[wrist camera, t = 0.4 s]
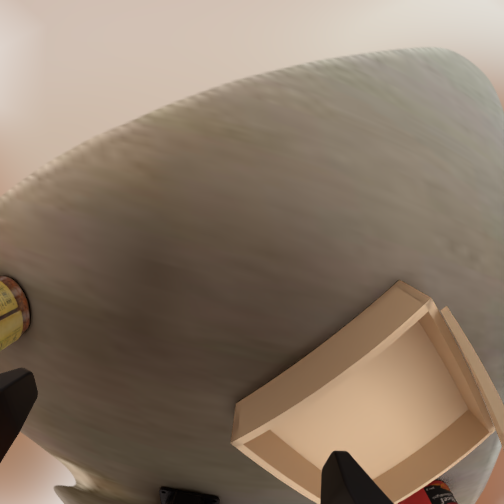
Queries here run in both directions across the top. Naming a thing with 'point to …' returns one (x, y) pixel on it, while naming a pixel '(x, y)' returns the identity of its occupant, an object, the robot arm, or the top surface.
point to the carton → (370, 402)
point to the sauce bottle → (12, 312)
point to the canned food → (431, 495)
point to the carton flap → (478, 375)
